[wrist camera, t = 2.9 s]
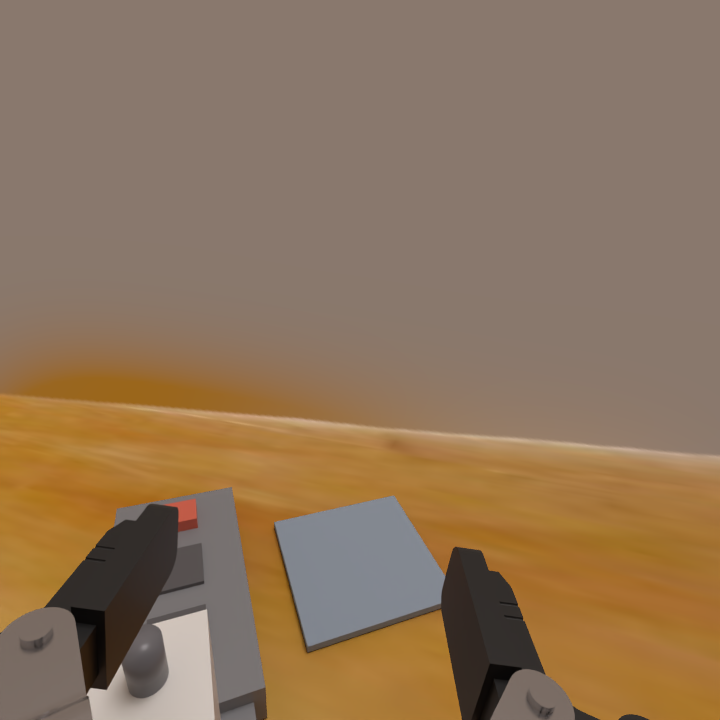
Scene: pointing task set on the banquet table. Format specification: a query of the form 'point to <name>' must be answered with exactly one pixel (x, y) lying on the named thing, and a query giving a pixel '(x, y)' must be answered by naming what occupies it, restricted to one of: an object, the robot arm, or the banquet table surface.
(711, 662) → the banquet table surface
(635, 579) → the banquet table surface
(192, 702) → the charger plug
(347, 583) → the rubber mat
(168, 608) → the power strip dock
